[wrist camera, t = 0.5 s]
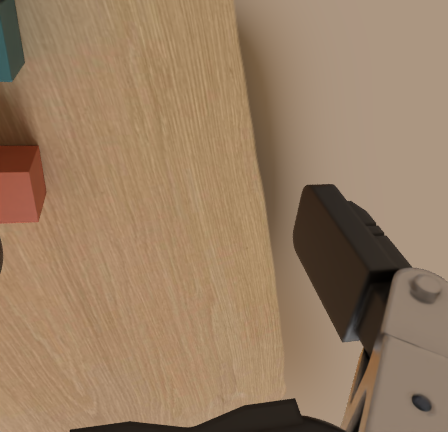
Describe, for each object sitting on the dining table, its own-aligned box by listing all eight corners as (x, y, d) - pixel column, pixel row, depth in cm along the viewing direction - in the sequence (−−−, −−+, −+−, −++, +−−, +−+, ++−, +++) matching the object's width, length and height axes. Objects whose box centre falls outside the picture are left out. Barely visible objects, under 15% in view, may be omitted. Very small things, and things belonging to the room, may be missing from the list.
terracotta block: (-22, 145, 34) (-40, 172, 30) (38, 145, 35) (29, 171, 31) (-10, 194, 36) (-25, 224, 33) (46, 192, 37) (38, 222, 34)
